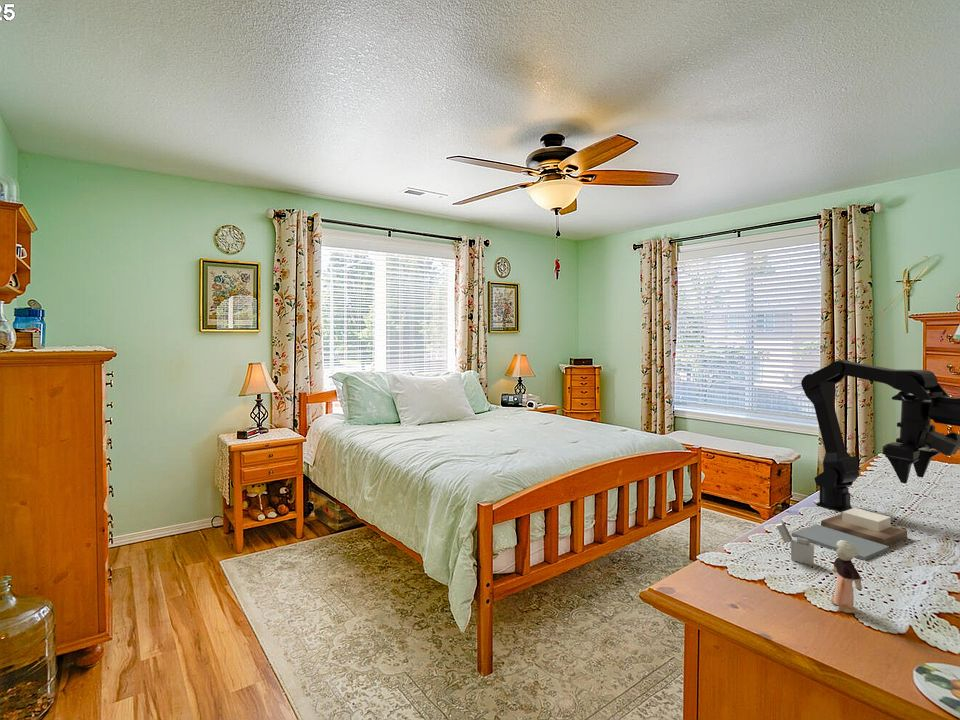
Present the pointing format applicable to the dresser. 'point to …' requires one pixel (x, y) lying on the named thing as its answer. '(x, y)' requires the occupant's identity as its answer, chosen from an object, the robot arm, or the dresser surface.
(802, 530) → the mat
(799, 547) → the lighter
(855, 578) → the grandmother figurine
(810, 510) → the dresser surface
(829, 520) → the board
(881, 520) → the tile
